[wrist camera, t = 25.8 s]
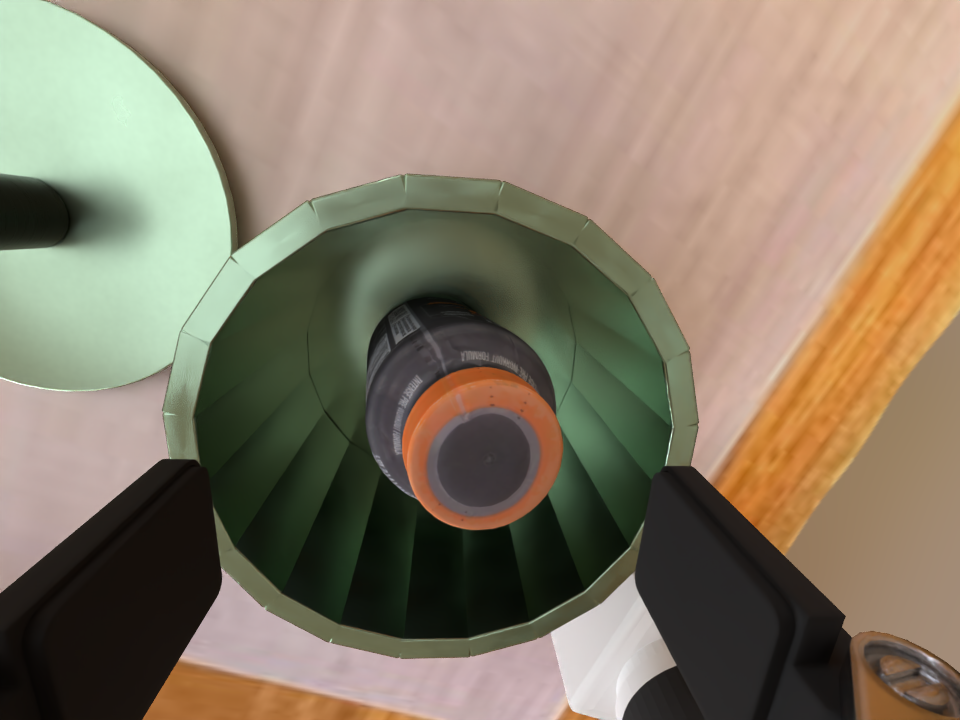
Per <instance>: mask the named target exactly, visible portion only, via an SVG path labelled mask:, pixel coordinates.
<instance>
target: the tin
mask: <svg viewBox="0 0 960 720" xmlns="http://www.w3.org/2000/svg"><path fill="white" fill-rule="evenodd" d="M422 297H440V298H447V299H451V300H454V301H456V302H459V303H461V304H463V305H465V306H466V307H468V308H470V309H472V310H473V311H475V312H477V313H479V314H481V315H482V316H484V317H485V318H487V319H489V320H491V321H493V322H495V323H497V324H498V325H500V326H502V327H503V328H506V329H507V330H509V331H511V332H512V333H514V334H515V335H516V336H518V337H520V338H521V339H522V340H523V341H524V342H526V343H527V344H528V345H529V346H530V347H531V348H532V349H533V350H534V351H535V352H536V353H537V355H538V356H539V357H540V359H541V360H542V362H543V363H544V365H545V367H546V369H547V371H548V373H549V375H550V378H551V381H552V384H553V387H554V391H555V398H556V418H557V420H558V422H559V425H560V428H561V433H562V438H563V454H562V461H561V467H560V470H559V472H558V475H557V478H556V480H555V482H554V484H553V486H552V487H551V489H550V490H549V492H548V494H547V495H546V496H545V497H544V498H543V500H542V501H541V502H540V503H539V504H538V505H537V506H536V507H535V508H533V509H532V510H531V511H530V512H528V513H527V514H526V515H524V516H523V517H521V518H519V519H518V520H516V521H514V522H512V523H510V524H507V525H505V526H501V527H497V528H494V529H483V530H469V529H462V528H458V527H454V526H451V525H449V524H446V523H444V522H442V521H441V520H439V519H437V518H436V517H434V516H433V515H432V514H431V513H430V512H428V511H427V510H426V509H425V508H424V507H423V505H422V504H421V503H420V501H419V500H417V499H415V498H413V497H411V496H409V495H408V494H406V493H404V492H403V491H402V490H400V489H399V488H398V487H397V486H396V485H395V484H394V483H392V482H391V481H390V480H389V478H388V477H387V476H386V475H385V474H384V473H383V471H382V470H381V468H380V467H379V465H378V464H377V462H376V460H375V458H374V456H373V453H372V451H371V448H370V445H369V442H368V437H367V433H366V424H365V413H366V382H367V379H366V378H367V353H368V347H369V343H370V339H371V336H372V334H373V332H374V330H375V328H376V327H377V325H378V324H379V322H380V321H381V320H382V318H383V317H384V316H386V315H387V314H388V313H389V312H390V311H391V310H392V309H394V308H395V307H397V306H398V305H400V304H402V303H405V302H407V301H409V300H412V299H416V298H422ZM689 349H690V348H689V346H688V344H687V342H686V340H685V338H684V336H683V334H682V332H681V330H680V328H679V326H678V324H677V322H676V320H675V318H674V316H673V314H672V313H671V311H670V309H669V307H668V305H667V303H666V301H665V299H664V297H663V295H662V293H661V291H660V289H659V287H658V285H657V283H656V281H655V279H654V278H652V277H651V275H650V274H649V273H648V272H647V271H646V270H645V269H644V268H643V267H642V266H641V265H639V264H638V263H637V262H636V261H635V260H634V259H633V258H632V257H631V256H630V255H629V254H628V253H627V252H626V251H624V250H623V249H622V248H621V247H620V246H619V245H618V244H617V243H616V242H615V241H614V240H613V239H612V238H610V237H609V236H608V235H607V234H606V233H605V232H604V231H603V230H602V229H601V228H600V227H599V226H598V225H596V224H595V223H594V222H593V221H592V220H591V219H588V217H587V216H585V215H582V214H580V213H578V212H575V211H573V210H571V209H568V208H566V207H564V206H561V205H559V204H557V203H554V202H552V201H550V200H547V199H545V198H543V197H540V196H538V195H536V194H534V193H531V192H529V191H527V190H524V189H522V188H520V187H517V186H515V185H513V184H510V183H508V182H506V181H502V182H501V181H500V180H494V179H479V178H465V177H450V176H436V175H421V174H405V175H396V176H393V177H389V178H386V179H382V180H378V181H375V182H371V183H367V184H364V185H360V186H357V187H353V188H349V189H346V190H342V191H338V192H335V193H331V194H327V195H324V196H320V197H317V198H313V199H312V200H310V201H305V202H304V203H303V204H301V205H300V206H298V207H297V208H295V209H294V210H293V211H291V212H290V213H288V214H287V215H286V216H284V217H283V218H281V219H280V220H279V221H277V222H276V223H274V224H273V225H272V226H270V227H269V228H267V229H266V230H264V231H263V232H262V233H260V234H259V235H257V236H256V237H255V238H253V239H252V240H250V241H249V242H248V243H246V244H245V245H243V246H242V247H241V248H239V249H238V250H236V251H235V252H233V253H232V254H231V256H230V257H229V258H228V259H227V261H226V262H225V264H224V265H223V267H222V268H221V270H220V271H219V272H218V274H217V275H216V277H215V278H214V280H213V281H212V283H211V284H210V286H209V287H208V289H207V290H206V292H205V293H204V295H203V296H202V298H201V299H200V301H199V302H198V304H197V305H196V307H195V308H194V310H193V311H192V313H191V314H190V316H189V317H188V319H187V320H186V322H185V323H184V325H183V326H182V328H181V331H180V332H179V337H178V341H177V346H176V350H175V355H174V359H173V364H172V368H171V373H170V377H169V382H168V386H167V391H166V395H165V400H164V405H163V409H162V411H163V420H164V427H165V433H166V440H167V446H168V453H169V459H195V460H197V461H198V462H199V464H200V467H205V468H207V470H208V473H209V479H210V487H211V495H212V502H213V510H214V518H215V526H216V533H217V541H218V549H219V556H220V564H221V568H222V569H223V570H225V571H226V572H227V573H228V574H229V575H230V576H231V577H232V578H233V579H234V580H235V581H236V582H237V583H238V584H239V585H240V586H241V587H242V588H243V589H244V590H245V591H246V592H247V593H249V594H250V595H251V596H252V597H253V598H254V599H255V600H256V601H257V602H258V603H259V604H260V605H261V606H262V607H265V610H267V611H269V612H271V613H273V614H274V615H276V616H278V617H280V618H282V619H284V620H286V621H288V622H290V623H292V624H294V625H295V626H297V627H299V628H301V629H303V630H305V631H307V632H309V633H311V634H313V635H315V636H316V637H318V638H320V639H322V640H324V641H326V642H329V641H330V642H331V643H333V644H338V645H342V646H346V647H351V648H355V649H359V650H364V651H368V652H373V653H377V654H381V655H386V656H390V657H395V658H399V657H400V658H401V659H413V658H459V657H470V655H471V656H476V655H480V654H484V653H488V652H491V651H495V650H499V649H502V648H506V647H510V646H514V645H517V644H521V643H525V642H529V641H532V640H536V639H537V638H541V637H543V636H545V635H547V634H548V633H550V632H552V631H554V630H556V629H557V628H559V627H561V626H563V625H565V624H566V623H568V622H570V621H572V620H574V619H575V618H577V617H579V616H581V615H582V614H584V613H586V612H588V611H590V610H591V609H593V608H595V607H597V606H598V605H599V604H602V603H603V602H604V601H605V600H606V599H607V598H608V597H609V596H610V595H611V594H612V593H613V592H614V591H615V590H616V589H617V588H618V587H619V586H620V585H621V584H622V583H623V582H624V581H625V580H626V579H627V578H628V577H629V576H630V575H631V574H633V573H634V572H635V569H636V564H637V558H638V553H639V548H640V543H641V537H642V532H643V527H644V521H645V516H646V511H647V506H648V500H649V495H650V490H651V484H652V479H653V476H654V474H655V473H657V472H660V471H661V469H662V468H663V467H664V466H691V461H692V456H693V451H694V446H695V442H696V437H697V432H698V423H699V419H698V411H697V403H696V396H695V388H694V380H693V372H692V364H691V356H690V351H689Z"/></svg>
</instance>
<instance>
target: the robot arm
mask: <svg viewBox="0 0 960 720" xmlns="http://www.w3.org/2000/svg"><path fill="white" fill-rule="evenodd" d="M221 583H222V572H221V564H220V556H219V549H218V541H217V533H216V526H215V518H214V510H213V502H212V495H211V487H210V479H209V473H208V470H207V468H205V467H200V464H199V462H198V461H197V460H195V459H162V460H161V461H159V462H158V463H156V464H155V465H154V466H153V467H152V468H150V469H149V470H148V471H147V472H146V473H144V474H143V475H142V476H141V477H140V478H138V479H137V480H136V481H135V482H134V483H132V484H131V485H130V486H129V487H128V488H126V489H125V490H124V491H123V492H122V493H120V494H119V495H118V496H117V497H116V498H114V499H113V500H112V501H111V502H110V503H108V504H107V505H106V506H105V507H104V508H102V509H101V510H100V511H99V512H98V513H96V514H95V515H94V516H93V517H92V518H90V519H89V520H88V521H87V522H86V523H84V524H83V525H82V526H81V527H80V528H78V529H77V530H76V531H75V532H74V533H72V534H71V535H70V536H69V537H68V538H66V539H65V540H64V541H63V542H62V543H60V544H59V545H58V546H57V547H56V548H54V549H53V550H52V551H51V552H50V553H48V554H47V555H46V556H45V557H43V558H42V559H41V560H40V561H39V562H37V563H36V564H35V565H34V566H33V567H31V568H30V569H29V570H28V571H27V572H25V573H24V574H23V575H22V576H21V577H19V578H18V579H17V580H16V581H15V582H13V583H12V584H11V585H10V586H9V587H7V588H6V589H5V590H4V591H3V592H1V593H0V720H142V719H143V717H144V716H145V714H146V712H147V711H148V709H149V707H150V706H151V704H152V703H153V701H154V699H155V698H156V696H157V694H158V693H159V691H160V689H161V688H162V686H163V685H164V683H165V681H166V680H167V678H168V676H169V675H170V673H171V671H172V670H173V668H174V666H175V665H176V663H177V662H178V660H179V658H180V657H181V655H182V653H183V652H184V650H185V648H186V647H187V645H188V644H189V642H190V640H191V639H192V637H193V635H194V634H195V632H196V630H197V629H198V627H199V626H200V624H201V622H202V621H203V619H204V617H205V616H206V614H207V612H208V611H209V609H210V607H211V606H212V604H213V603H214V601H215V599H216V598H217V596H218V594H219V591H220V588H221ZM635 584H636V588H637V590H638V593H639V595H640V597H641V598H642V600H643V602H644V604H645V606H646V608H647V610H648V612H649V614H650V616H651V618H652V619H653V621H654V623H655V625H656V627H657V629H658V631H659V633H660V635H661V637H662V639H663V640H664V642H665V644H666V646H667V648H668V650H669V652H670V654H671V656H672V658H673V659H674V661H675V663H676V665H677V667H678V669H679V671H680V673H681V675H682V677H683V679H684V680H685V682H686V684H687V686H688V688H689V690H690V692H691V694H692V696H693V698H694V700H695V701H696V703H697V705H698V707H699V709H700V711H701V713H702V715H703V717H704V719H705V720H960V673H959V672H958V671H957V670H955V669H954V668H953V667H952V666H950V665H949V664H948V663H947V662H945V661H944V660H942V659H940V658H939V657H937V656H935V655H934V654H932V653H931V652H929V651H928V650H926V649H924V648H921V647H920V646H918V645H916V644H914V643H912V642H909V641H908V640H905V639H902V638H899V637H896V636H893V635H890V634H887V633H880V632H874V631H869V632H860V633H858V634H857V635H855V636H854V637H851V636H850V635H849V634H848V633H847V632H846V631H845V630H844V629H843V628H842V624H843V621H844V619H845V617H846V616H845V615H844V614H843V613H842V612H841V611H840V610H839V609H838V608H837V607H836V606H835V605H833V603H832V602H831V601H830V600H829V599H828V598H827V597H826V596H824V594H823V593H821V592H820V591H819V590H818V589H817V588H816V587H815V586H814V585H813V584H812V583H811V582H810V581H809V580H808V579H807V578H806V577H805V576H804V575H803V574H802V573H801V572H800V571H799V570H798V569H797V568H796V567H795V566H794V565H793V564H792V563H791V562H790V561H789V560H788V559H787V558H786V557H785V556H784V555H783V554H782V553H781V552H780V551H779V550H778V549H777V548H776V547H775V546H774V545H773V544H771V543H770V542H769V541H768V540H767V539H766V538H765V537H764V536H763V535H762V534H761V533H760V532H759V531H758V530H757V529H756V528H755V527H754V526H753V525H752V524H751V523H750V522H749V521H748V520H747V519H746V518H745V517H744V516H743V515H742V514H741V513H740V512H739V511H738V510H737V509H736V508H735V507H734V506H733V505H732V504H731V503H730V502H729V501H728V500H727V499H726V498H725V497H724V496H722V495H721V494H720V493H719V492H718V491H717V490H716V489H715V488H714V487H713V486H712V485H711V484H710V483H709V482H708V481H707V480H706V479H705V478H704V477H703V476H702V475H701V474H700V473H699V472H698V471H697V470H696V469H695V468H693V467H692V466H664V467H663V468H662V469H661V471H660V472H657V473H655V474H654V476H653V479H652V484H651V490H650V495H649V500H648V506H647V511H646V516H645V521H644V527H643V532H642V537H641V543H640V548H639V553H638V558H637V564H636V569H635Z"/></svg>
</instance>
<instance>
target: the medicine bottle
mask: <svg viewBox="0 0 960 720" xmlns="http://www.w3.org/2000/svg"><path fill="white" fill-rule="evenodd" d="M550 633H551V637H552V641H553V644H554V648H555V652H556V656H557V660H558V664H559V668H560V672H561V676H562V680H563V683H564V687H565V691H566V695H567V699H568V703H569V706H570V708H571V709H572V710H573V711H574V712H576V713H580V714H583V715H587V716H591V717H594V718H598V719H601V720H705V719H704V717H703V715H702V713H701V711H700V709H699V707H698V705H697V703H696V701H695V700H694V698H693V696H692V694H691V692H690V690H689V688H688V686H687V684H686V682H685V680H684V679H683V677H682V675H681V673H680V671H679V669H678V667H677V665H676V663H675V661H674V659H673V658H672V656H671V654H670V652H669V650H668V648H667V646H666V644H665V642H664V640H663V639H662V637H661V635H660V633H659V631H658V629H657V627H656V625H655V623H654V621H653V619H652V618H651V616H650V614H649V612H648V610H647V608H646V606H645V604H644V602H643V600H642V598H641V597H640V595H639V593H638V590H637V588H636V584H635V572H634V573H633V574H631V575H630V576H629V577H628V578H627V579H626V580H625V581H624V582H623V583H622V584H621V585H620V586H619V587H618V588H617V589H616V590H615V591H614V592H613V593H612V594H611V595H610V596H609V597H608V598H607V599H606V600H605V601H604V602H603V603H602V604H599V605H598V606H597V607H595V608H593V609H591V610H590V611H588V612H586V613H584V614H582V615H581V616H579V617H577V618H575V619H574V620H572V621H570V622H568V623H566V624H565V625H563V626H561V627H559V628H557V629H556V630H554V631H552V632H550Z"/></svg>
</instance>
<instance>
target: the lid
mask: <svg viewBox="0 0 960 720" xmlns="http://www.w3.org/2000/svg"><path fill="white" fill-rule="evenodd" d="M236 250H238V242H237V221H236V214H235V208H234V202H233V197H232V194H231V190H230V187H229V183H228V180H227V176H226V173H225V171H224V168H223V166H222V163H221V161H220V159H219V156H218V154H217V151H216V149H215V147H214V145H213V143H212V142H211V140H210V138H209V136H208V134H207V133H206V131H205V129H204V127H203V125H202V124H201V122H200V121H199V119H198V118H197V116H196V115H195V114H194V112H193V111H192V109H191V108H190V107H189V105H188V104H187V102H186V101H185V99H184V98H183V97H182V96H181V95H180V94H179V93H178V91H177V90H176V89H175V88H174V87H173V86H172V85H171V83H170V82H169V81H168V80H167V79H166V78H165V77H164V76H163V75H162V74H161V73H160V72H159V71H158V70H157V69H156V68H155V67H154V66H153V65H151V64H150V63H149V62H148V61H147V60H146V59H145V58H144V57H143V56H142V55H141V54H139V53H138V52H137V51H135V50H134V49H132V48H131V47H130V46H128V45H127V44H126V43H124V42H123V41H122V40H120V39H119V38H118V37H116V36H115V35H113V34H111V33H110V32H108V31H106V30H104V29H103V28H101V27H99V26H98V25H96V24H94V23H92V22H91V21H89V20H87V19H85V18H84V17H82V16H80V15H78V14H76V13H74V12H72V11H69V10H67V9H65V8H63V7H60V6H58V5H56V4H53V3H51V2H49V1H46V0H0V378H1V379H4V380H8V381H11V382H14V383H18V384H21V385H26V386H31V387H36V388H41V389H47V390H59V391H71V392H72V391H97V390H103V389H110V388H116V387H120V386H124V385H127V384H131V383H134V382H138V381H140V380H142V379H145V378H147V377H149V376H151V375H154V374H156V373H158V372H160V371H162V370H164V369H166V368H167V367H169V366H170V365H172V364H173V359H174V355H175V350H176V346H177V341H178V337H179V332H180V331H181V328H182V326H183V325H184V323H185V322H186V320H187V319H188V317H189V316H190V314H191V313H192V311H193V310H194V308H195V307H196V305H197V304H198V302H199V301H200V299H201V298H202V296H203V295H204V293H205V292H206V290H207V289H208V287H209V286H210V284H211V283H212V281H213V280H214V278H215V277H216V275H217V274H218V272H219V271H220V270H221V268H222V267H223V265H224V264H225V262H226V261H227V259H228V258H229V257H230V256H231V254H232V253H233V252H235V251H236Z"/></svg>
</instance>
